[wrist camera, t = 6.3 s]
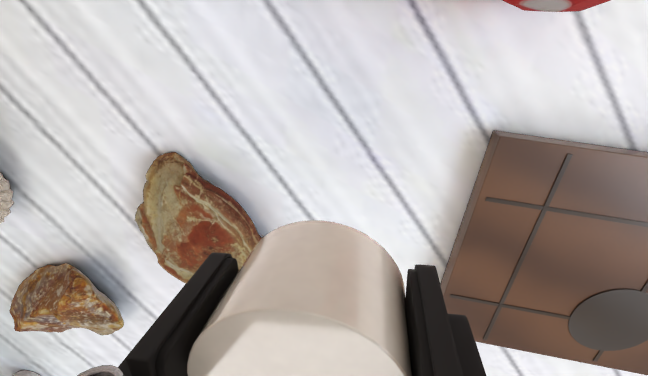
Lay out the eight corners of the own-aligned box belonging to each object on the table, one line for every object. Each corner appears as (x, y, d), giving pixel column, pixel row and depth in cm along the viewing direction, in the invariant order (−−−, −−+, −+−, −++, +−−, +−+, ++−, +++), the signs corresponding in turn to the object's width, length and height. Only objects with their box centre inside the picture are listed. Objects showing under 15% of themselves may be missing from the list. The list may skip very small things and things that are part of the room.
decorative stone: (123, 348, 30) (45, 366, 37) (155, 311, 34) (79, 333, 40) (45, 272, 27) (-25, 306, 34) (89, 241, 31) (19, 277, 37)
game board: (492, 129, 22) (500, 136, 21) (781, 171, 21) (811, 181, 20) (428, 319, 30) (430, 333, 29) (635, 359, 29) (648, 376, 27)
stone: (130, 220, 31) (104, 239, 28) (170, 140, 26) (145, 153, 24) (247, 298, 33) (234, 323, 30) (304, 235, 28) (295, 258, 25)
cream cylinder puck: (247, 204, 10) (180, 284, 6) (424, 239, 9) (449, 344, 6) (241, 331, 12) (189, 439, 9) (384, 364, 11) (387, 492, 8)
